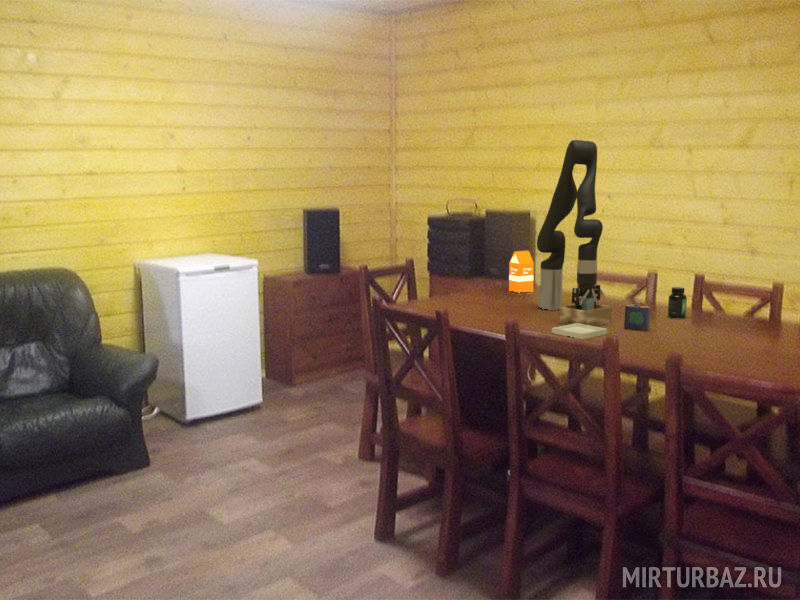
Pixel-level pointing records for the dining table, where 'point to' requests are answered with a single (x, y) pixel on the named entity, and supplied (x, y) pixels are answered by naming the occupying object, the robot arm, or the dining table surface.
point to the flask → (637, 317)
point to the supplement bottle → (677, 303)
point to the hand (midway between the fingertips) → (585, 312)
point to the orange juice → (521, 272)
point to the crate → (586, 315)
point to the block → (588, 304)
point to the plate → (579, 331)
